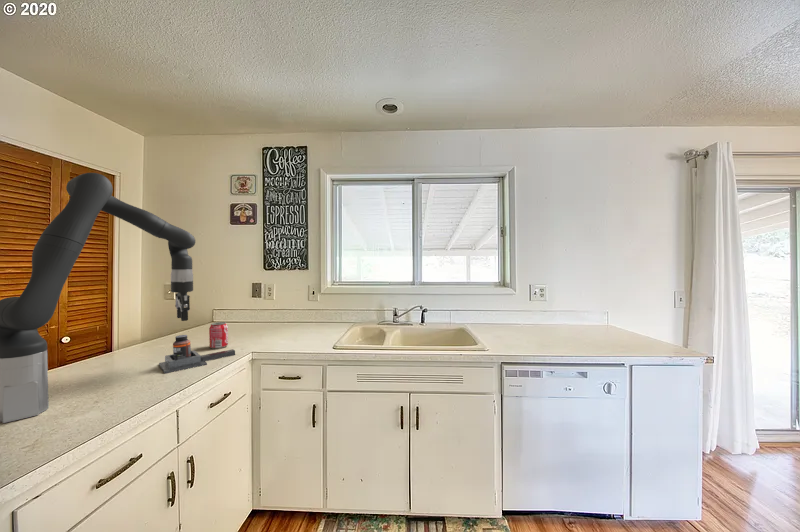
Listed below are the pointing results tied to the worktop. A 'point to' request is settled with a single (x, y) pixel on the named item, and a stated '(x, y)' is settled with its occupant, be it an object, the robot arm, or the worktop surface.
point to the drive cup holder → (191, 360)
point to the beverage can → (218, 335)
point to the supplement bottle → (181, 347)
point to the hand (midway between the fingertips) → (182, 319)
